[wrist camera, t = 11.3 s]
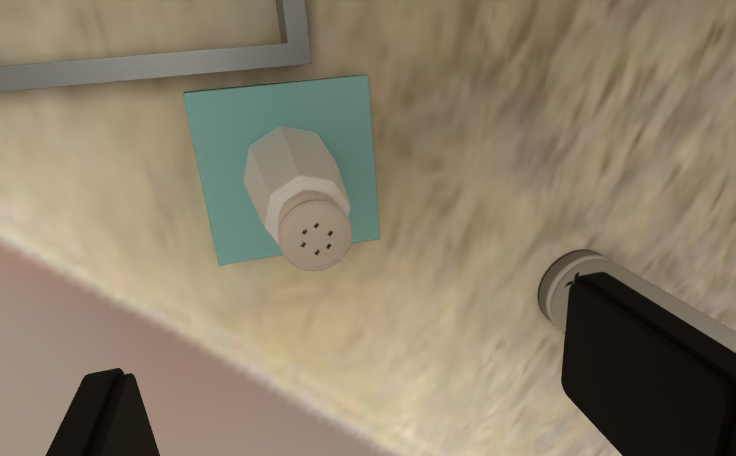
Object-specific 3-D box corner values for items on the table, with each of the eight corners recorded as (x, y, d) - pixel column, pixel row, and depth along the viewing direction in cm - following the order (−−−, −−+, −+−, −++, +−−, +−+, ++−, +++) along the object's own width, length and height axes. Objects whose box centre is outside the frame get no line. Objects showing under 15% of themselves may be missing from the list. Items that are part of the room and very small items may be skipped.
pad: (364, 74, 28) (368, 75, 27) (377, 234, 31) (380, 238, 31) (184, 92, 26) (182, 93, 25) (219, 260, 29) (219, 265, 29)
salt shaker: (223, 185, 27) (212, 264, 17) (275, 104, 26) (295, 137, 16) (303, 231, 29) (335, 325, 19) (354, 157, 28) (414, 216, 18)
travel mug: (529, 265, 35) (836, 495, 17) (608, 238, 36) (980, 430, 18) (536, 334, 38) (812, 600, 19) (610, 307, 39) (939, 538, 20)
